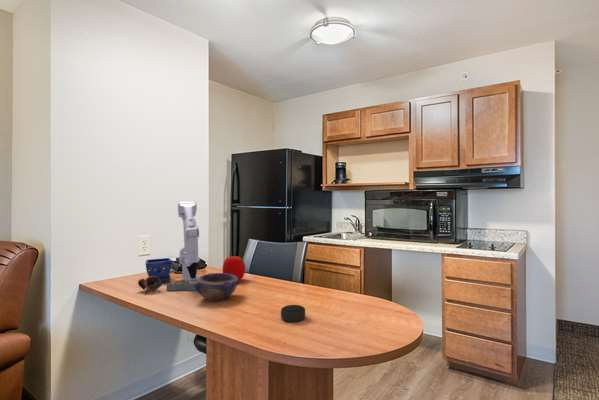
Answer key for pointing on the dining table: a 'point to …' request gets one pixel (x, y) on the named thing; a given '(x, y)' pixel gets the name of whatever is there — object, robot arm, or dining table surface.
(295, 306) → the smart speaker
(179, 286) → the panel
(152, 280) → the brown bird figurine
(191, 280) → the slate button
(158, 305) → the dining table surface
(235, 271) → the tomato
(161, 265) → the flower pot
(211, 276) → the bowl
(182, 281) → the peach ball
